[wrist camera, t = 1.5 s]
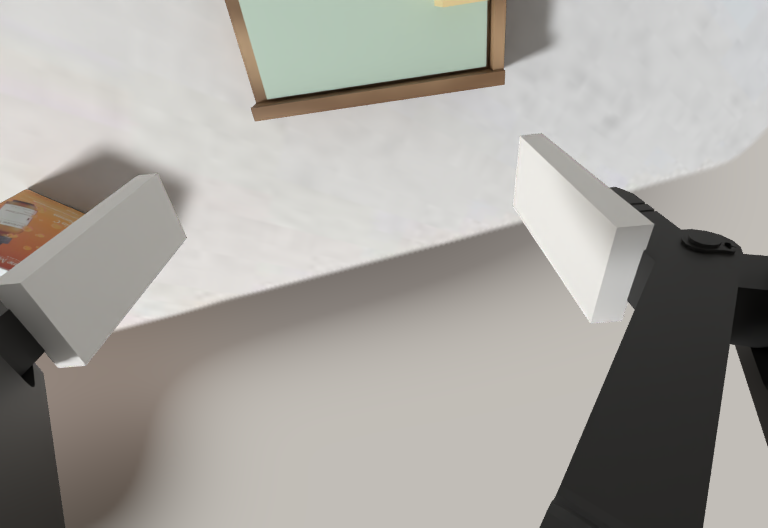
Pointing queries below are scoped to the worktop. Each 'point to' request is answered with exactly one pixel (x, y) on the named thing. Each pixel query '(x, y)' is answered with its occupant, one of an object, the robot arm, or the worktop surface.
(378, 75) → the cover plate
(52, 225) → the small box
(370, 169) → the worktop surface
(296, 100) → the wooden tray
